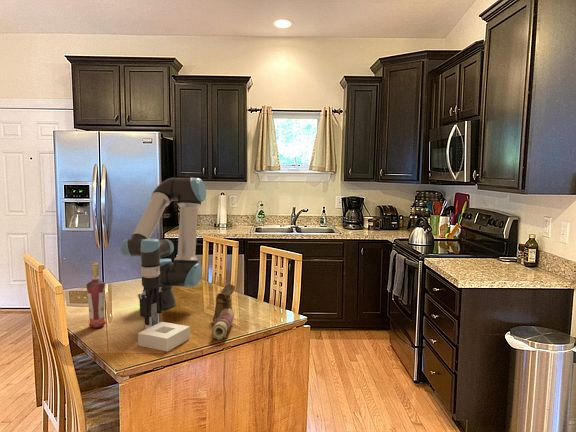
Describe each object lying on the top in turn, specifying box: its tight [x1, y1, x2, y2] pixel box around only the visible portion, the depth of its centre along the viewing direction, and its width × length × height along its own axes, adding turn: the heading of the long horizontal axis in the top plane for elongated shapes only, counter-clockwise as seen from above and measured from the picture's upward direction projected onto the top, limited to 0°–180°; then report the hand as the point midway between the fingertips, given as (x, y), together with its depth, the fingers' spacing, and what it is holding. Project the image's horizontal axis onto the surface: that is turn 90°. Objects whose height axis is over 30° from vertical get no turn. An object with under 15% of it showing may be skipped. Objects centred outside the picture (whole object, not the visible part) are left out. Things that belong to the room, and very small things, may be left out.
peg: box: [150, 302, 157, 326], centre depth 183 cm, size 4×4×12 cm
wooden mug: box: [212, 284, 236, 321], centre depth 197 cm, size 9×14×18 cm, turn 29°
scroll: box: [211, 308, 235, 340], centre depth 183 cm, size 8×8×20 cm
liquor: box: [86, 262, 107, 329], centre depth 187 cm, size 7×7×28 cm
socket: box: [137, 321, 191, 352], centre depth 171 cm, size 14×14×5 cm
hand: (152, 329), depth 184 cm, fingers closed on peg, 4 cm apart
